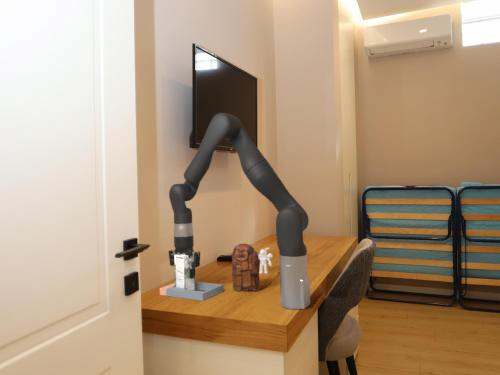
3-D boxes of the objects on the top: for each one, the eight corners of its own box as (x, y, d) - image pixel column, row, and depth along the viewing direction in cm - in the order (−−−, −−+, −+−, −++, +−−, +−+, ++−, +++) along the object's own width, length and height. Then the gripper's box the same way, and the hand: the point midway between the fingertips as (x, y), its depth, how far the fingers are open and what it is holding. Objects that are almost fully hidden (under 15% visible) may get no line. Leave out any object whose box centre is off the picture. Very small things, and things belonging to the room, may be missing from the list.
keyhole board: (223, 290, 154) (223, 284, 154) (202, 300, 141) (202, 293, 141) (182, 285, 163) (182, 279, 163) (159, 294, 151) (159, 288, 151)
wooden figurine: (228, 291, 153) (227, 244, 153) (233, 286, 159) (232, 242, 159) (257, 292, 150) (256, 245, 150) (262, 288, 156) (260, 242, 156)
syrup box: (185, 288, 158) (184, 252, 158) (196, 290, 154) (194, 253, 154) (174, 291, 153) (173, 254, 153) (184, 293, 149) (183, 255, 149)
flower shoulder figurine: (273, 272, 183) (273, 246, 183) (272, 274, 179) (271, 248, 179) (255, 271, 185) (254, 246, 185) (252, 273, 181) (252, 247, 181)
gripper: (204, 234, 153) (205, 276, 154) (175, 233, 160) (176, 274, 160) (192, 236, 147) (194, 281, 147) (162, 235, 154) (164, 278, 154)
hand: (185, 277), depth 154 cm, fingers closed on syrup box, 6 cm apart
